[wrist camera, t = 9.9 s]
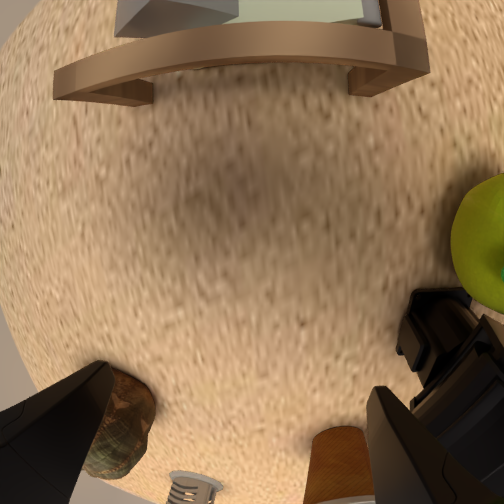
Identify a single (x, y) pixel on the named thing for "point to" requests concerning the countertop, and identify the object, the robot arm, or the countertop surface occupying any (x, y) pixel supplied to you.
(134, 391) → the shell
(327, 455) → the disposable coffee cup
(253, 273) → the countertop surface
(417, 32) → the frame
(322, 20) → the trapdoor
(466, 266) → the fruit
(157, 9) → the gray cube
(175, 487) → the french press
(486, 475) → the robot arm
